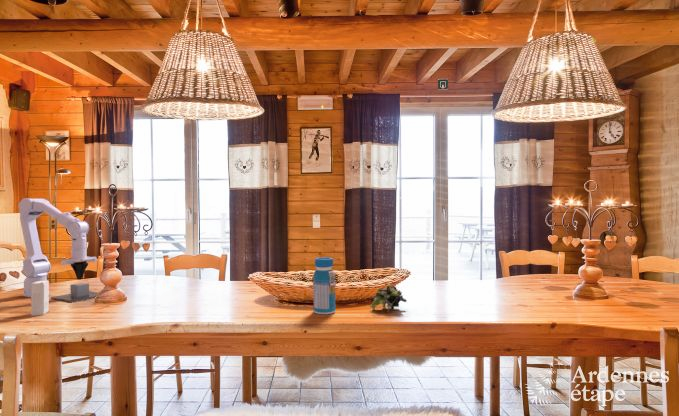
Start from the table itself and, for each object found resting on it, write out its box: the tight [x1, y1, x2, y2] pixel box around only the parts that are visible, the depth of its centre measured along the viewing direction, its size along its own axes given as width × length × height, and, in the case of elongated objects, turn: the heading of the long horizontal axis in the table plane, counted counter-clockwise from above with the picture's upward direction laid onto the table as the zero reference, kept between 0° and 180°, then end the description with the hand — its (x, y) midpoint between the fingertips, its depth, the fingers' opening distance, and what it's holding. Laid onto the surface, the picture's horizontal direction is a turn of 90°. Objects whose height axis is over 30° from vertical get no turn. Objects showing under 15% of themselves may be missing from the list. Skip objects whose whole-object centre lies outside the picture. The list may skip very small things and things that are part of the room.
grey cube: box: [69, 282, 90, 297], centre depth 200 cm, size 5×5×5 cm
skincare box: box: [30, 279, 50, 317], centre depth 170 cm, size 6×4×12 cm
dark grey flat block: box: [50, 290, 100, 303], centre depth 201 cm, size 16×16×4 cm
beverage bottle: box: [312, 256, 336, 315], centre depth 168 cm, size 8×8×20 cm
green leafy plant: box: [370, 284, 407, 314], centre depth 170 cm, size 11×11×12 cm
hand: (79, 279), depth 200 cm, fingers closed
